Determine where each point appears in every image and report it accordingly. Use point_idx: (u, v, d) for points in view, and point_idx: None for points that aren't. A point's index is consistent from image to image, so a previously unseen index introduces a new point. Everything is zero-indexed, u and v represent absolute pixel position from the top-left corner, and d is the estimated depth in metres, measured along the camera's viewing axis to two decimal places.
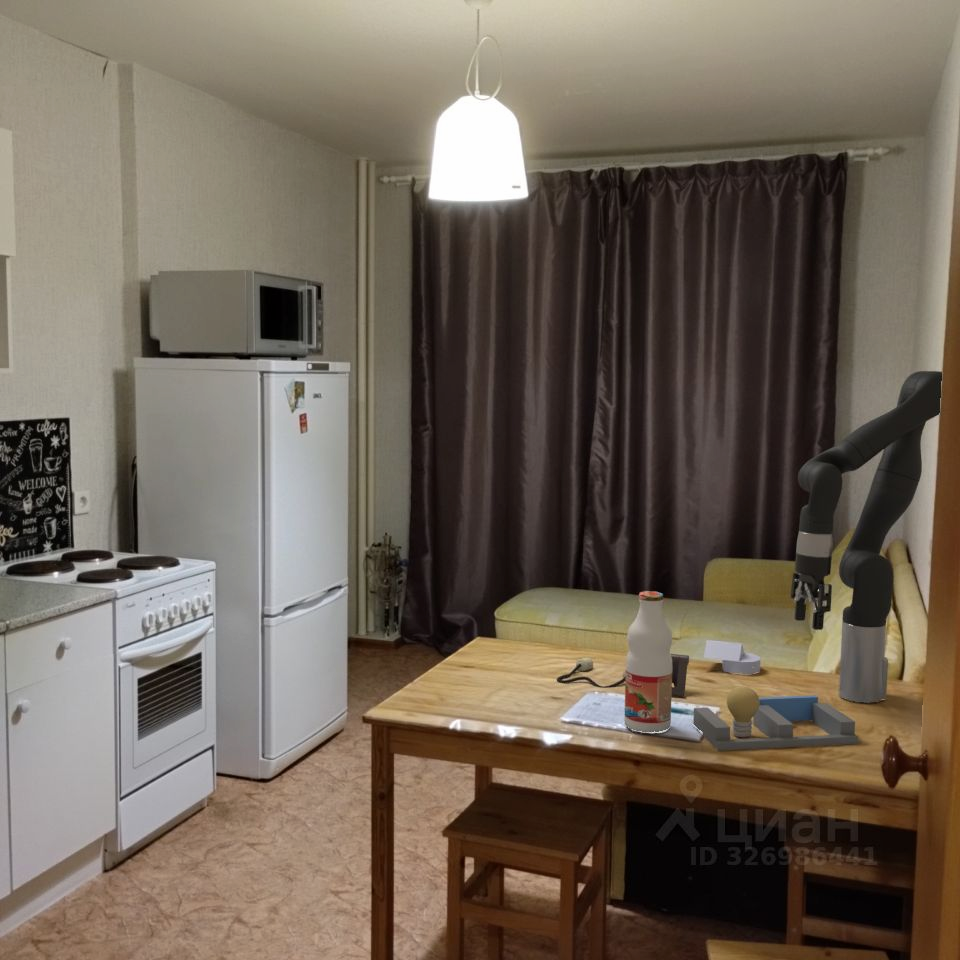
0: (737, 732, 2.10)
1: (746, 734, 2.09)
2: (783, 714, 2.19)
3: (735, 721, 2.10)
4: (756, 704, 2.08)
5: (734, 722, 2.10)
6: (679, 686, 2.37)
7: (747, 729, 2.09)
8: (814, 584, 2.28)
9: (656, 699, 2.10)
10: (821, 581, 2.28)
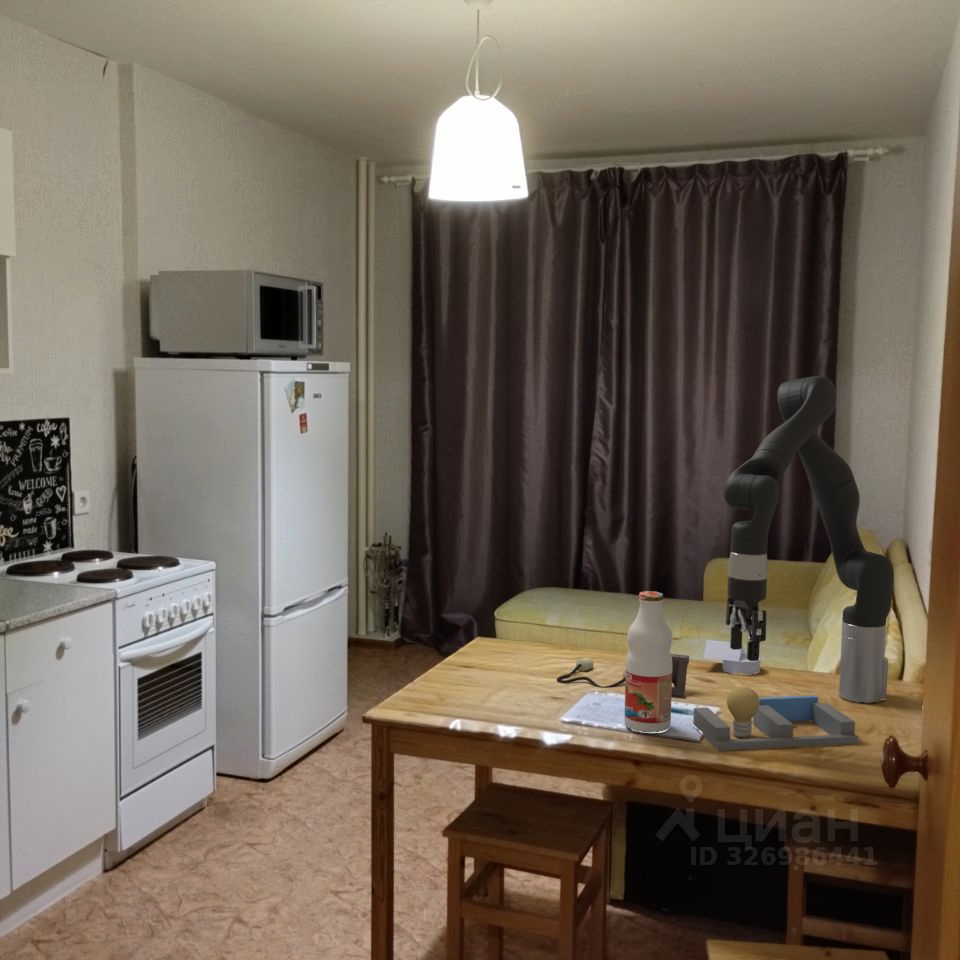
0: (737, 732, 2.10)
1: (746, 734, 2.09)
2: (783, 714, 2.19)
3: (735, 721, 2.10)
4: (756, 704, 2.08)
5: (734, 722, 2.10)
6: (679, 686, 2.37)
7: (747, 729, 2.09)
8: (748, 610, 2.05)
9: (656, 699, 2.10)
10: (755, 607, 2.05)
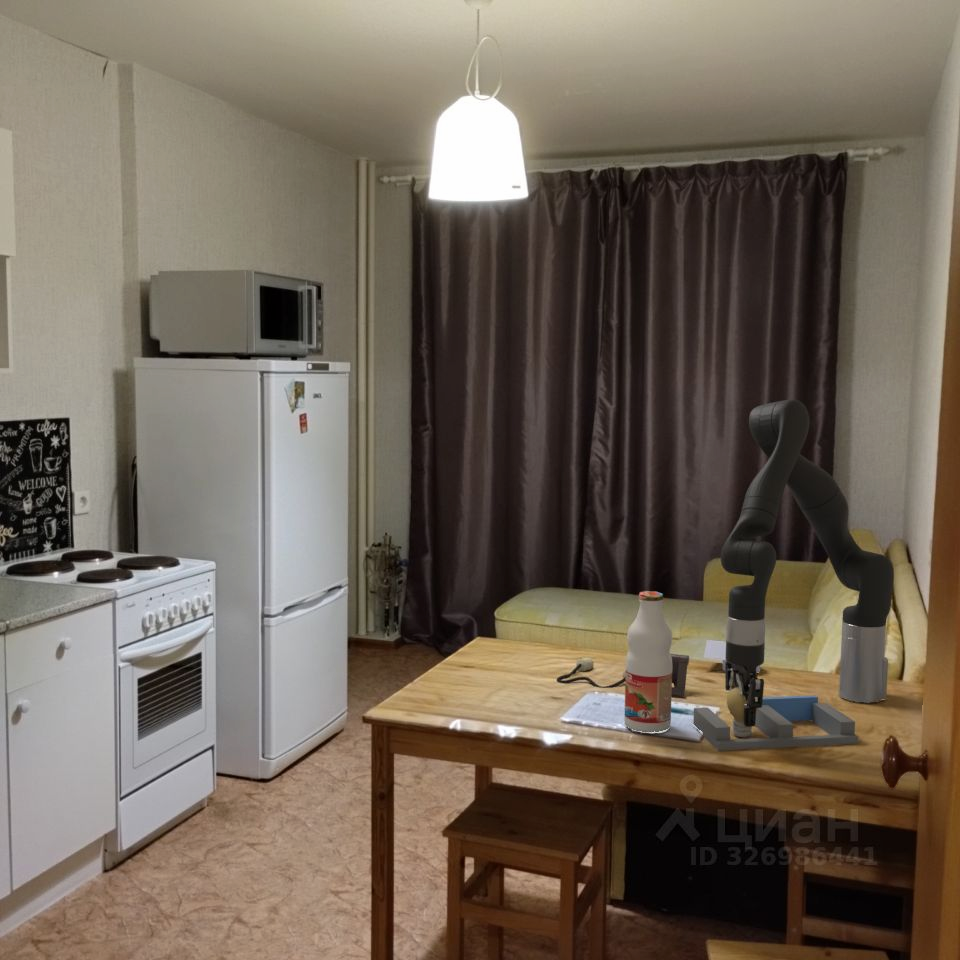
0: (737, 732, 2.10)
1: (746, 734, 2.09)
2: (783, 714, 2.19)
3: (735, 721, 2.10)
4: None
5: (734, 722, 2.10)
6: (679, 686, 2.37)
7: (747, 729, 2.09)
8: (746, 676, 2.06)
9: (656, 699, 2.10)
10: (753, 673, 2.06)
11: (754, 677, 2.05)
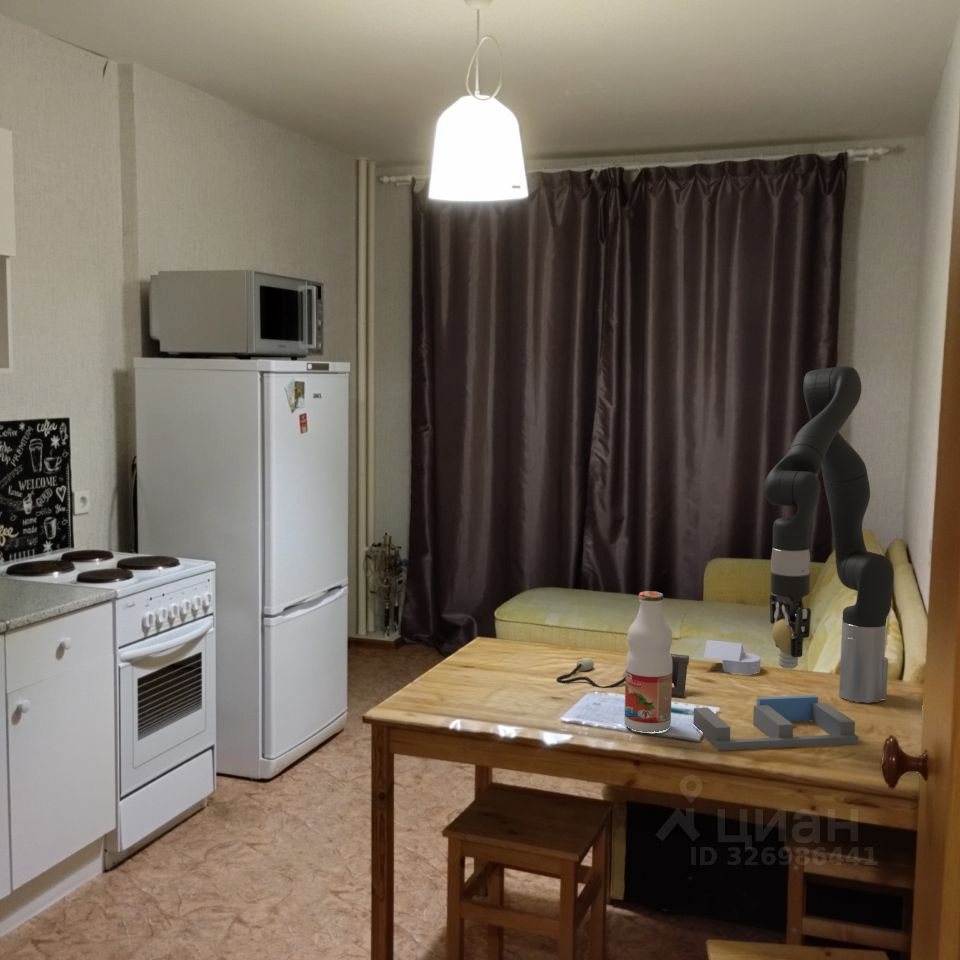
0: (783, 663, 2.10)
1: (793, 665, 2.10)
2: (783, 714, 2.19)
3: (781, 653, 2.10)
4: None
5: (780, 654, 2.11)
6: (679, 686, 2.37)
7: (794, 661, 2.10)
8: (792, 606, 2.06)
9: (656, 699, 2.10)
10: (800, 603, 2.06)
11: (800, 607, 2.05)
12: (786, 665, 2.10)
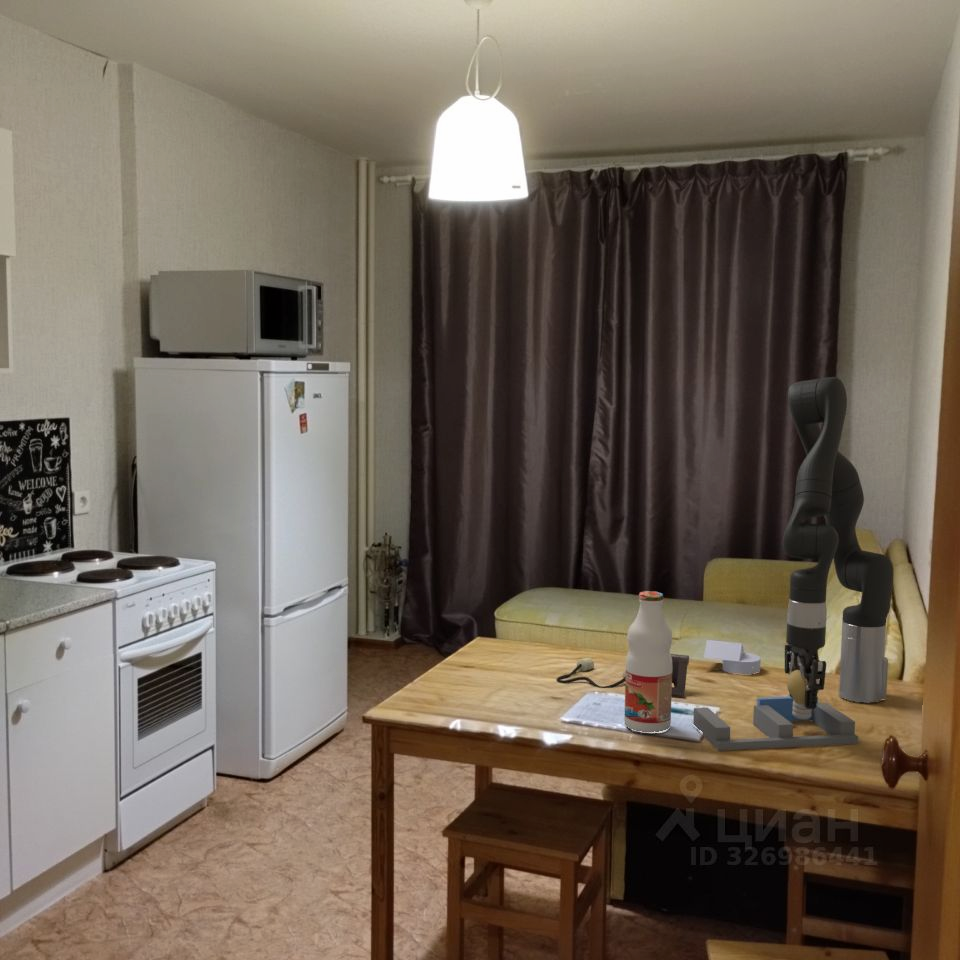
0: (797, 714, 2.12)
1: (807, 716, 2.11)
2: (783, 714, 2.19)
3: (795, 703, 2.12)
4: None
5: (794, 704, 2.12)
6: (679, 686, 2.37)
7: (808, 712, 2.11)
8: (807, 658, 2.08)
9: (656, 699, 2.10)
10: (815, 655, 2.08)
11: (816, 659, 2.07)
12: (800, 716, 2.11)
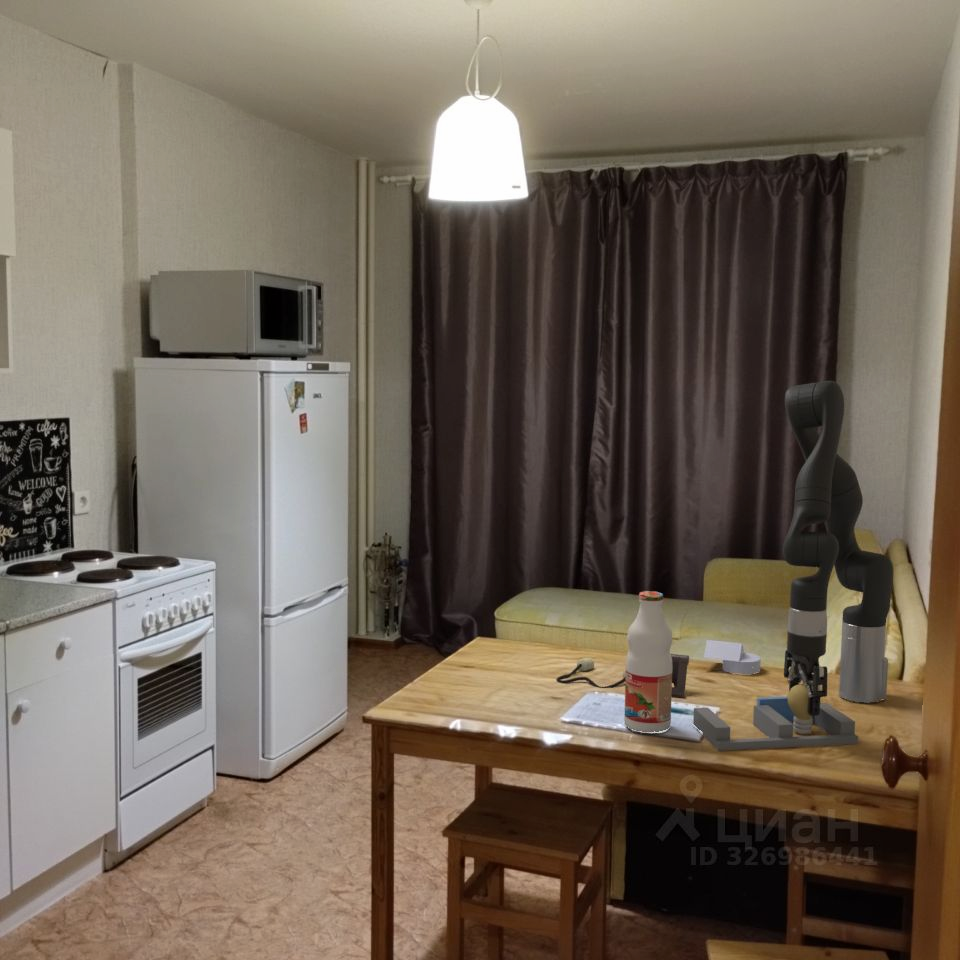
0: (798, 729, 2.12)
1: (807, 731, 2.11)
2: (783, 714, 2.19)
3: (796, 718, 2.12)
4: None
5: (795, 719, 2.12)
6: (679, 686, 2.37)
7: (809, 727, 2.11)
8: (808, 666, 2.08)
9: (656, 699, 2.10)
10: (816, 662, 2.08)
11: (817, 666, 2.07)
12: (801, 731, 2.11)
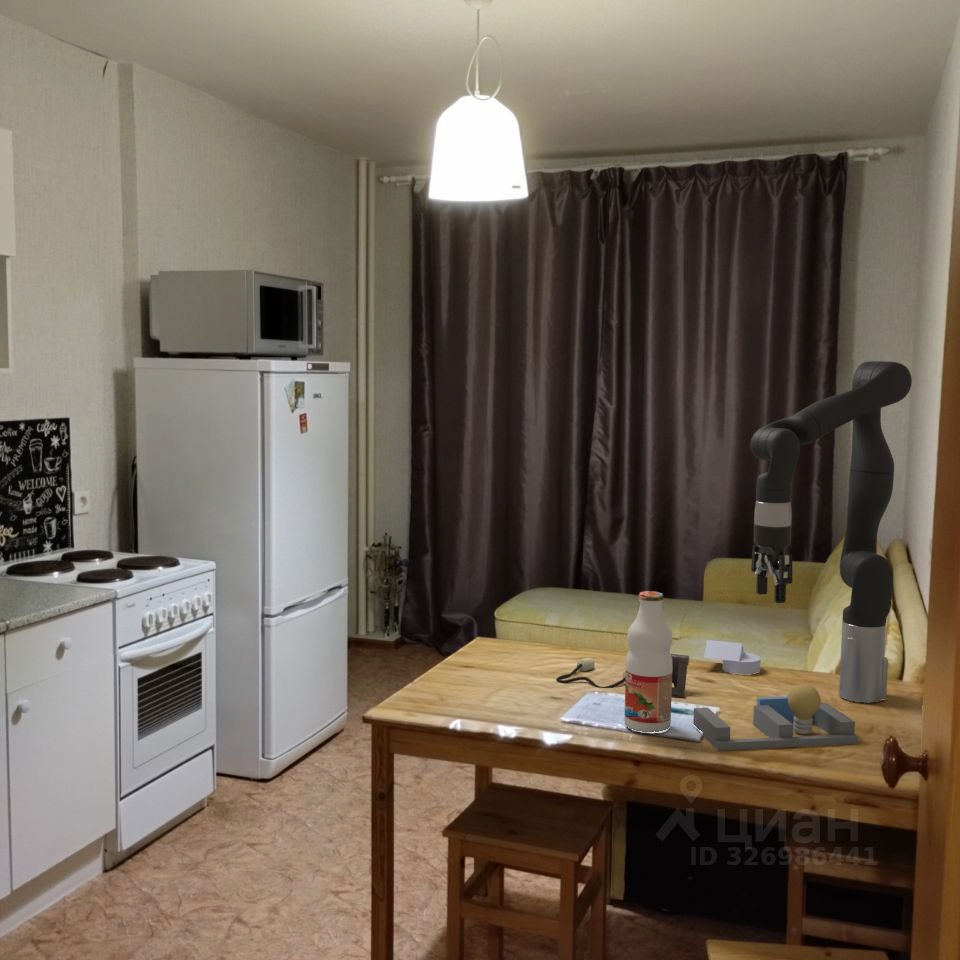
0: (798, 729, 2.12)
1: (808, 731, 2.11)
2: (783, 714, 2.19)
3: (796, 718, 2.12)
4: (818, 702, 2.10)
5: (795, 719, 2.12)
6: (679, 686, 2.37)
7: (809, 727, 2.11)
8: (774, 555, 2.18)
9: (656, 699, 2.10)
10: (781, 552, 2.18)
11: None
12: (801, 731, 2.11)
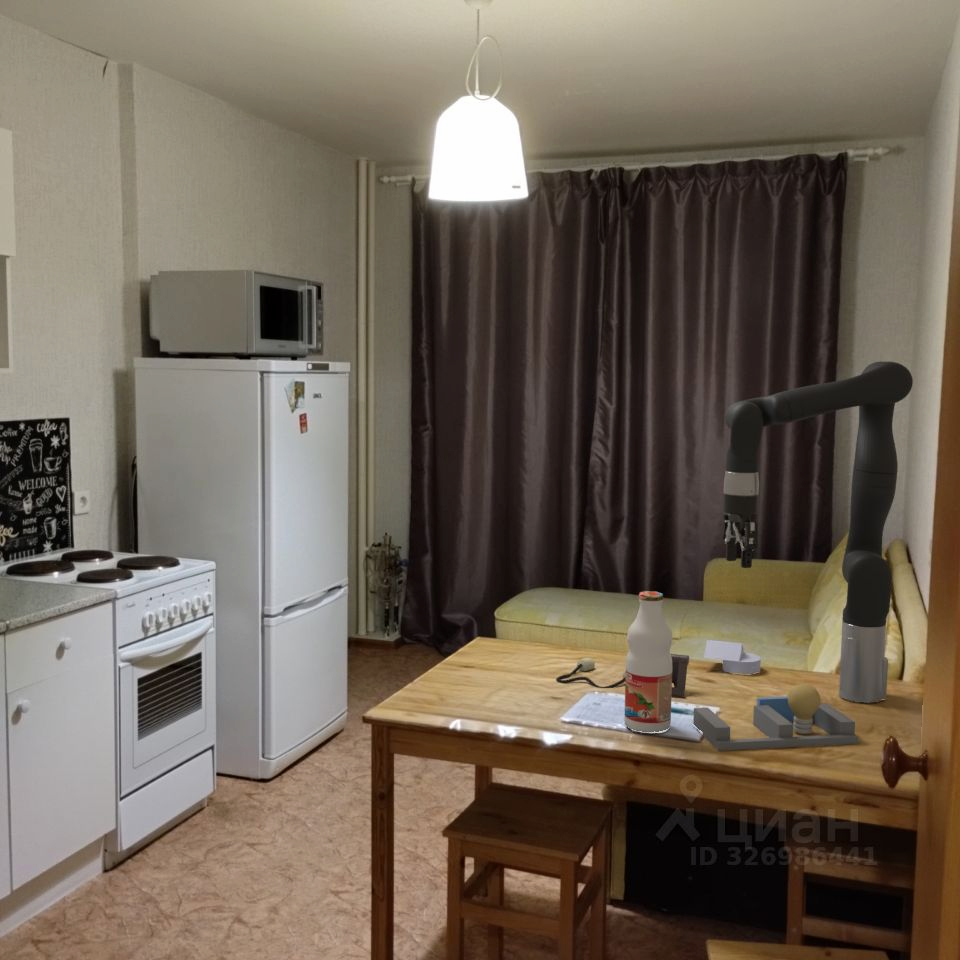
0: (798, 729, 2.12)
1: (808, 731, 2.11)
2: (783, 714, 2.19)
3: (796, 718, 2.12)
4: (818, 701, 2.10)
5: (795, 719, 2.12)
6: (679, 686, 2.37)
7: (809, 727, 2.11)
8: (741, 523, 2.29)
9: (656, 699, 2.10)
10: (748, 519, 2.29)
11: None
12: (801, 731, 2.11)
